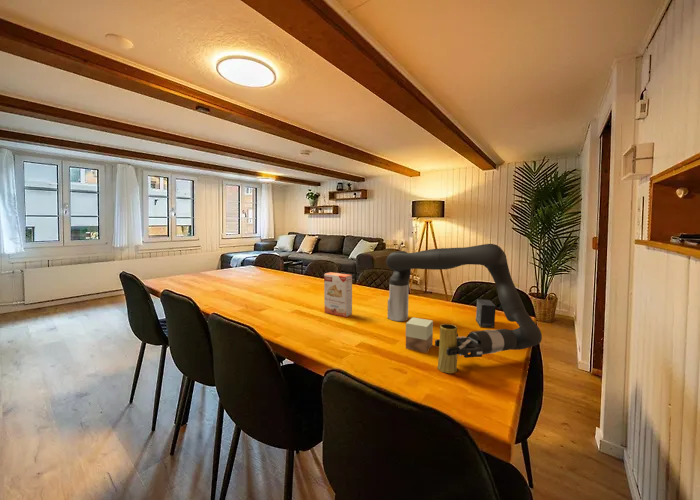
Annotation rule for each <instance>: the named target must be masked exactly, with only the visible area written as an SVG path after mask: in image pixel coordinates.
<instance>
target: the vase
mask: <svg viewBox="0 0 700 500" xmlns="http://www.w3.org/2000/svg"><path fill="white" fill-rule="evenodd" d="M457 334H458V326H456V325H455V324H451V323H442V324H440V325H439V339H440V342H439V347H438V360H437V369H438V370H439V371H440V372H442V373H444V374H455V373H456V372H458V366H457V363H458V355H450V356H448V355H447V348H451V347H457Z"/></svg>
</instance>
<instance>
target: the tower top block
mask: <svg viewBox="0 0 700 500" xmlns="http://www.w3.org/2000/svg"><path fill="white" fill-rule="evenodd" d="M433 327H434V321H433V320H431V319H425V318H418V317H411V318H410V319H409V320H408V321H407V322H406V323H405V337H406V336H407V337H412V338H418V339H423V340H427V339H428V338H429V337H430V336H431V335H432V333H433V331H434V330H433Z"/></svg>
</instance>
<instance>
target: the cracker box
mask: <svg viewBox="0 0 700 500" xmlns="http://www.w3.org/2000/svg"><path fill="white" fill-rule="evenodd" d="M323 279H324V280H323V281H324V282H323V283H324V286H323V287H324V289H323V290H324V292H323V293H324V313H326V314H331V315H335V316H338V317H339V316H340V317H344V318H347V317H349V316H351V315H353V275H352V274H346V273H340V272H331V271H329V272H326V273H324V275H323Z"/></svg>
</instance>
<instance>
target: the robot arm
mask: <svg viewBox="0 0 700 500" xmlns="http://www.w3.org/2000/svg"><path fill="white" fill-rule="evenodd" d="M507 259H508V258H507V255H506V253H505V251H504V250H503V249H502V247H500V246H499V245H497V244H495V243H484V244H479V245H472V246H466V247H465V246H464V247H442V248H441V247H440V248H431V249H426V250H420V251H417V252H416V251H415V252H407V251H405V250H398V251H392V252H390V254H388V256H386V260H385V264H386V266H387V267H388V269H390V270H391V271H393V272H392V275H391V276H390V277H389V281H388V282H389V292H388V293H389V295H388V299H387V319H389V320H391V321H395V322H404V321H405V322H406V321H407V320H408V319H409V288H410V287H409V286H410V285H409V284H410V283H409V281H410V279H411V270H412V269H413V270H415V269H416V270H417V269H418V270H433V271H435V270H436V271H438V270H439V271H440V270H451V269H454V268H458V267H460V266H467V265H473V266H474V265H475V266H476V265H477V266H483V267H485V268H486V269H487V270H488V272H489V274H490V275H491V277H492V279H493V281H494V283H495V288H496V291H497V296H498V300H499V302H500V305H501V308H502V311H503V313H504V316H505V318H506V320H507V321H508V322H511V323H514V322H516V324H517V325H518V327H517V328H514V329H507V328H499V329H484V330H475V331H474V330H473V331H470V332H469V333H468V334H467V335H466V336H463V335H462V336H459V334H458V333H457V347H451V348H447V355H448V356H450V355H457V356H458V355H459V356H463V358H466V359H467V358H480V357H483V355H489V354H495V353H498V352H499V353H500V352H505V351H510V350H516V351H517V350H525V349H528V348H532V347H534V346H537V345H540V344H541V342H542V340H543V336H542V332H541V330H540V328H539V326H538V325H537V324H536V322H535V320H533V318H532V317H531V316H530V315H529V313H528V312H527V310H526V307H525V305H524V303H523V300H522V298H521V296H520V294H519V291H518V290H517V287H516V286H515V283H514V281H513V278H512V276H511V272H510V269H509V265H508V260H507ZM408 321H409V320H408ZM434 341H435V342H434V346H435V347H436V348H439V342H440V338H439V339H435V340H434Z"/></svg>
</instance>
